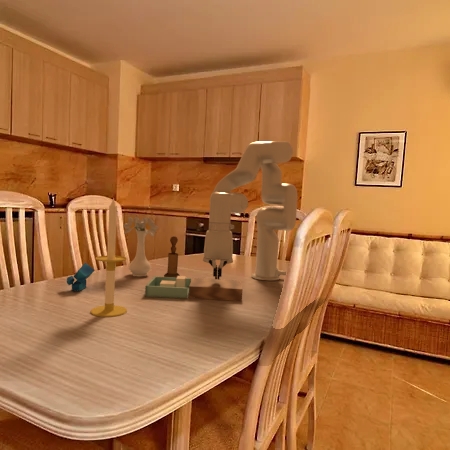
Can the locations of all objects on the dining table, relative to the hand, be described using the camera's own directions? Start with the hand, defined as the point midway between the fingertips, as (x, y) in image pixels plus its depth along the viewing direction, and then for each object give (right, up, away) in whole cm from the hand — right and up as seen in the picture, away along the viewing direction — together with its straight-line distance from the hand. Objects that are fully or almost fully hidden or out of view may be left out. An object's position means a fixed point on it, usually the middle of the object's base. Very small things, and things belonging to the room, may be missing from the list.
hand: (217, 278), depth 131 cm
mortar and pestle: (-19, -4, +18) cm, 26 cm away
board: (-1, -6, 0) cm, 6 cm away
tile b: (-17, -1, -1) cm, 17 cm away
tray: (-17, -5, 0) cm, 18 cm away
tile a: (-11, -2, -1) cm, 11 cm away
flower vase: (-34, -2, +25) cm, 42 cm away
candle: (-30, -6, -27) cm, 41 cm away
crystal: (-47, -3, -4) cm, 48 cm away
